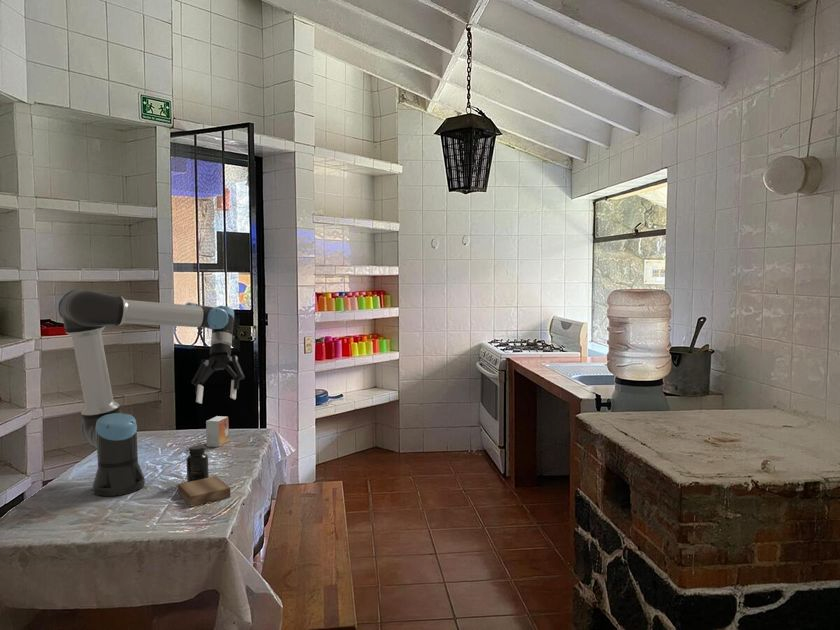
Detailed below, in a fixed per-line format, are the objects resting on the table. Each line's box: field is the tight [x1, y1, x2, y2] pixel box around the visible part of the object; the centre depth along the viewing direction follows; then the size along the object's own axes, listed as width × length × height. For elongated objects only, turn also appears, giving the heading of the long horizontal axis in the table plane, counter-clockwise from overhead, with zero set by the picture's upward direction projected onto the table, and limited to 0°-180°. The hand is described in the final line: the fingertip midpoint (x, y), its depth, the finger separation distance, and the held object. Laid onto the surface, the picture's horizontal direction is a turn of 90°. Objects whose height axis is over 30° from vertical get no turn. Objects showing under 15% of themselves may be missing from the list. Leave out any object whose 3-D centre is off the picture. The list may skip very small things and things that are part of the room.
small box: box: [205, 415, 230, 448], centre depth 245 cm, size 8×6×10 cm
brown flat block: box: [177, 475, 231, 507], centre depth 191 cm, size 12×13×3 cm
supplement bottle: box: [186, 444, 210, 482], centre depth 202 cm, size 7×7×12 cm
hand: (215, 400), depth 219 cm, fingers open, 13 cm apart
